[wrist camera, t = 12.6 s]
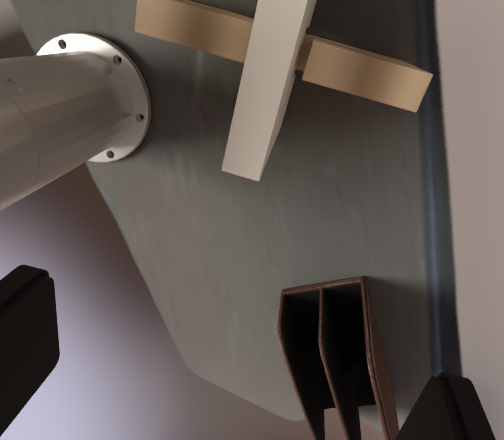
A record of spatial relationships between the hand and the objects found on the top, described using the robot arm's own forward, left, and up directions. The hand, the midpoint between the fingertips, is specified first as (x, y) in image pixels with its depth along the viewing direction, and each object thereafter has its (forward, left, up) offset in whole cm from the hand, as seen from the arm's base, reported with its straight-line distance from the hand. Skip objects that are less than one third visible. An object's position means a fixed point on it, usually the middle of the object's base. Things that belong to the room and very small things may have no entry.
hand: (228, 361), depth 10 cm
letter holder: (+13, -26, -32) cm, 43 cm away
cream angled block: (-3, +5, -31) cm, 32 cm away
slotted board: (-3, +5, -31) cm, 32 cm away
